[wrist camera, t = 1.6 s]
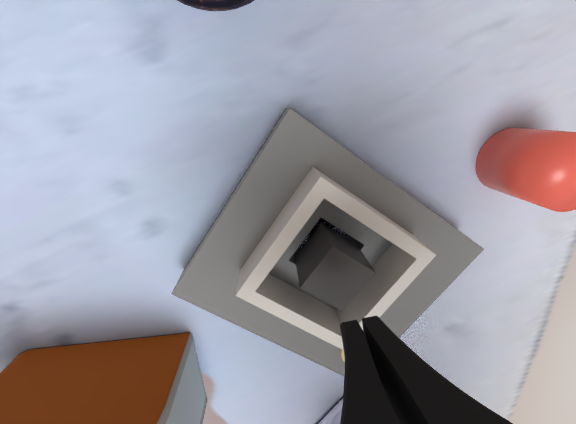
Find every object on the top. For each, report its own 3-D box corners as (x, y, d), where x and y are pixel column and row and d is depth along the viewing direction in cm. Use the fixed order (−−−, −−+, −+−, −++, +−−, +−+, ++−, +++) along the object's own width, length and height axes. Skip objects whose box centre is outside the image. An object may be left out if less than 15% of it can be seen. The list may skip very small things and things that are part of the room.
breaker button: (357, 244, 19) (375, 272, 16) (330, 277, 20) (342, 311, 16) (320, 221, 18) (332, 246, 15) (294, 257, 19) (300, 288, 16)
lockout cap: (548, 150, 21) (631, 163, 16) (502, 199, 22) (567, 225, 17) (508, 114, 20) (585, 116, 15) (463, 168, 21) (520, 185, 16)
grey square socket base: (456, 231, 22) (516, 270, 17) (346, 352, 26) (367, 416, 20) (286, 108, 18) (294, 107, 13) (183, 270, 22) (156, 322, 16)
